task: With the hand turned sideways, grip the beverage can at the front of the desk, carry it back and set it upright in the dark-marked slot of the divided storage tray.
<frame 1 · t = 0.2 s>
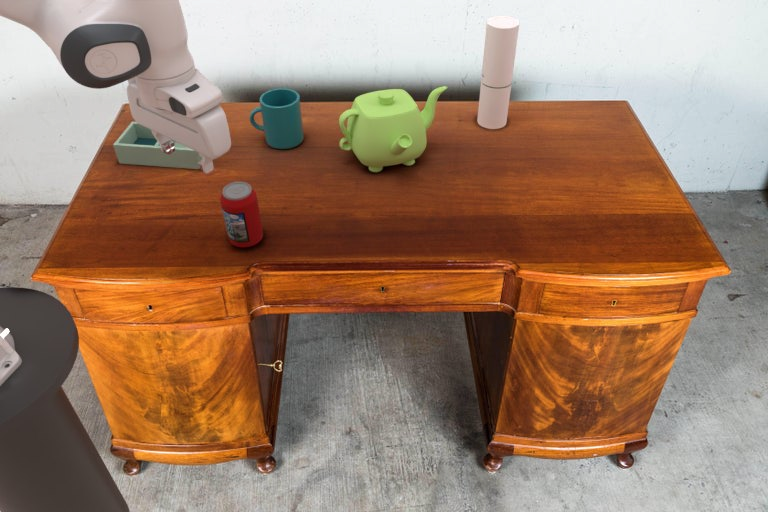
hand: (187, 161, 108), 23 cm above the table, tool pointing down, fingers open, 8 cm apart
cup: (278, 141, 156), on the table
divided storage tray: (168, 154, 152), on the table
cylindrical container: (491, 122, 162), on the table
beverage can: (246, 239, 129), on the table
teapot: (397, 161, 149), on the table
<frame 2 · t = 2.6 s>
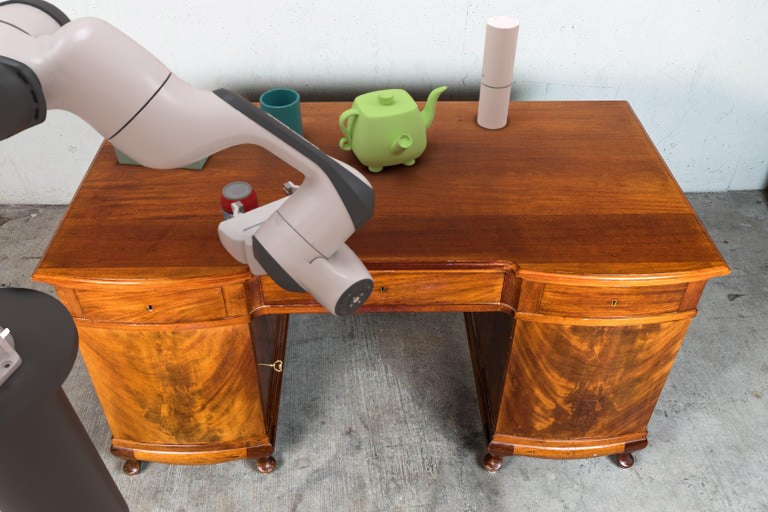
hand: (261, 195, 110), 18 cm above the table, tool horizontal, fingers open, 8 cm apart
nothing on the table moved.
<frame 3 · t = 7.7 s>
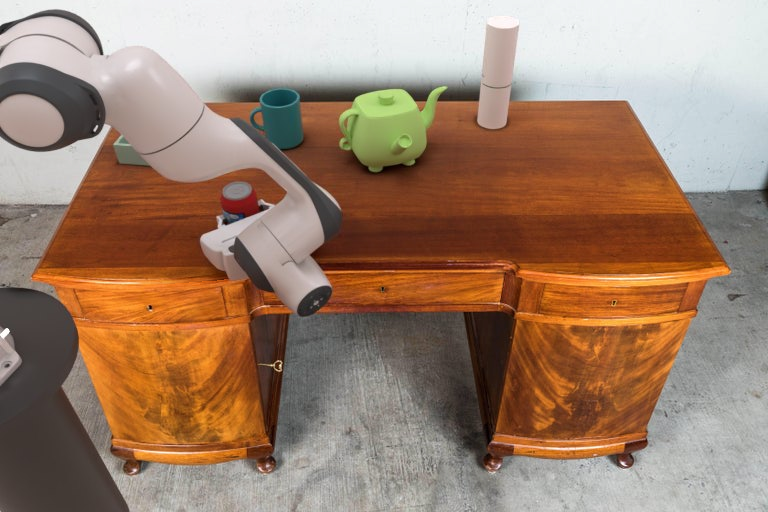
hand: (239, 210, 125), 7 cm above the table, tool horizontal, fingers closed on beverage can, 7 cm apart
beverage can: (246, 239, 129), on the table, touching gripper
everything else where it was.
when the fingers open (8 cm above the table, at t = 18.9 s): beverage can stays where it is, resting on divided storage tray.
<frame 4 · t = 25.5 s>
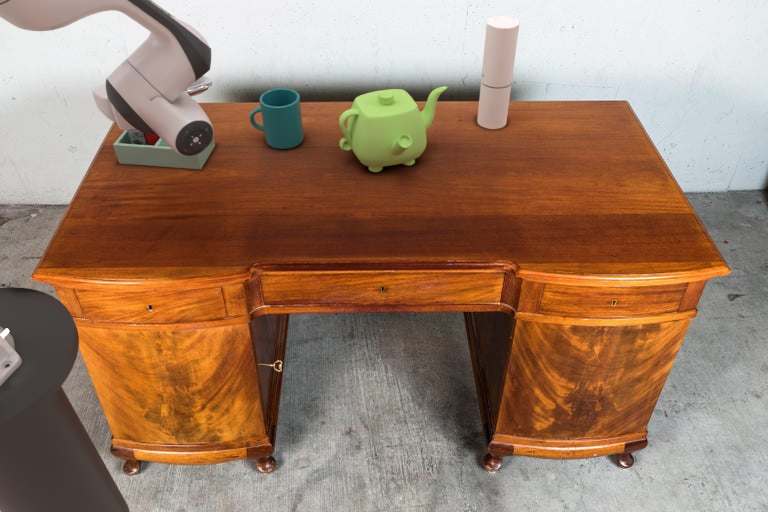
hand: (138, 72, 128), 25 cm above the table, tool horizontal, fingers open, 8 cm apart
beverage can: (149, 149, 152), point 1 cm above the table, touching divided storage tray
everything else where it was.
at the end: beverage can 0.3 cm from the target spot in the divided storage tray, point 1.0 cm above the divided storage tray's base; beverage can tilted 0°; the gripper is holding nothing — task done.
